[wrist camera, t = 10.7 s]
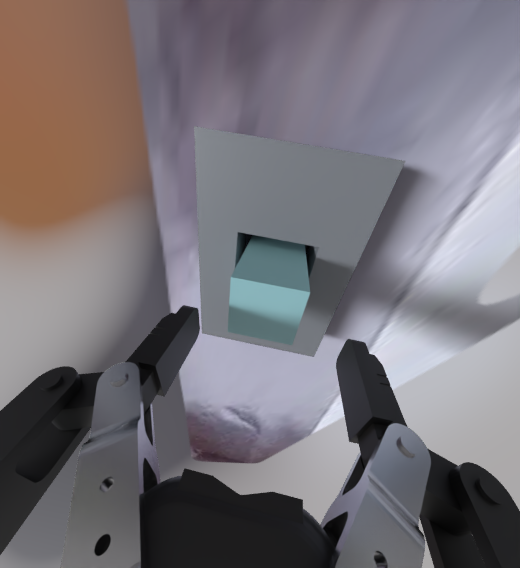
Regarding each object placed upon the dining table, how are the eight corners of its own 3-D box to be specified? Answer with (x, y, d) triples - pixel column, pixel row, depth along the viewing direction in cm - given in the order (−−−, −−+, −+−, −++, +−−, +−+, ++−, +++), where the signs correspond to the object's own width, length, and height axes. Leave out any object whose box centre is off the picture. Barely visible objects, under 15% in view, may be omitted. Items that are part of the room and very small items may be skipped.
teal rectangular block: (303, 236, 16) (310, 292, 10) (292, 277, 19) (292, 345, 12) (256, 228, 17) (230, 276, 10) (251, 269, 19) (227, 331, 12)
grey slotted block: (216, 132, 13) (194, 126, 10) (380, 159, 13) (405, 161, 10) (214, 309, 22) (202, 333, 19) (311, 330, 22) (313, 356, 19)
